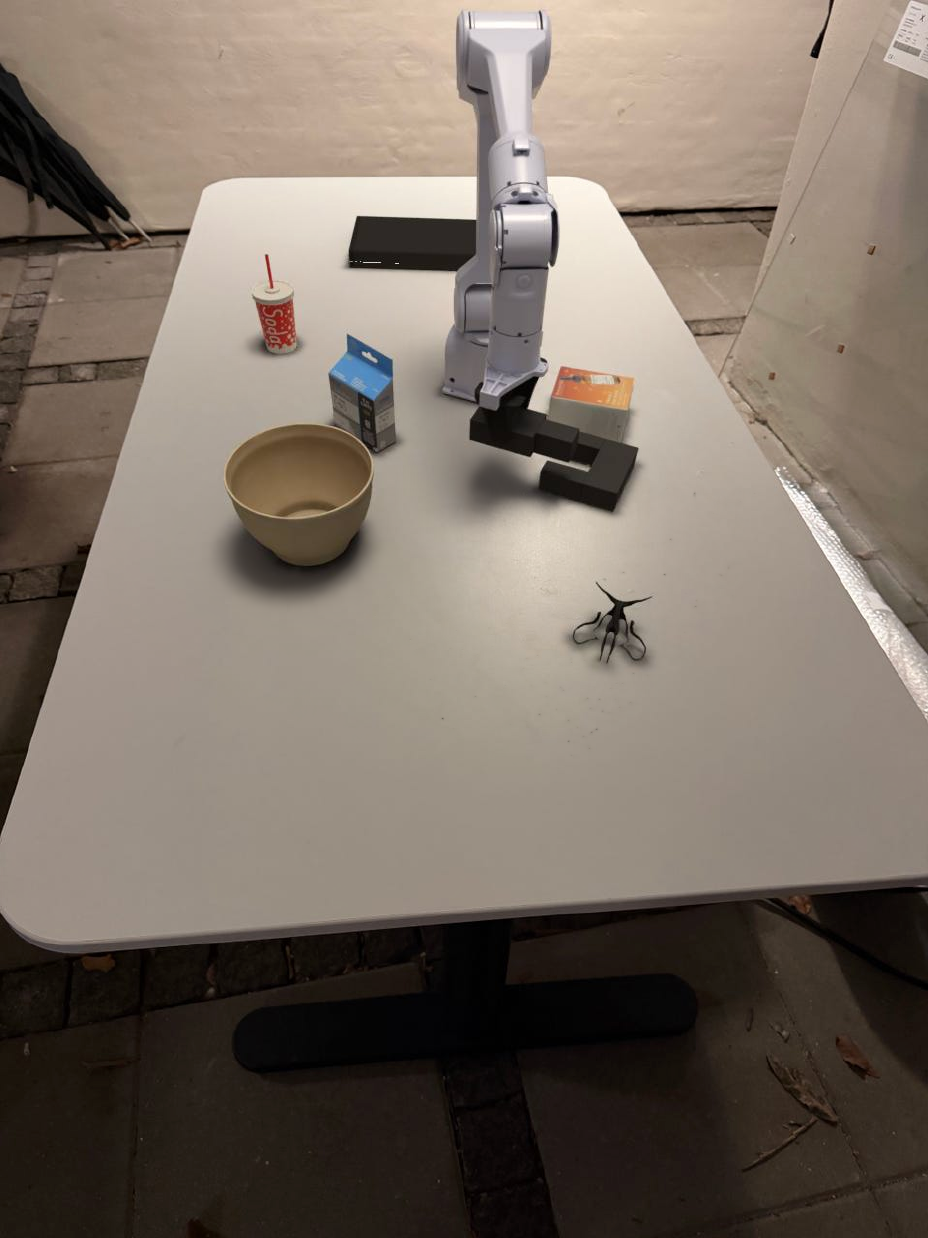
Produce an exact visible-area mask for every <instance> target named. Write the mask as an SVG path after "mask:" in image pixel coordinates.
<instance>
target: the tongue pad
mask: <svg viewBox="0 0 928 1238" xmlns="http://www.w3.org/2000/svg"><path fill="white" fill-rule="evenodd" d="M579 432H580V429H579V428H576V427H572V426H568V425H565V424H561V423H557V422H554V421H550V420H548V413H545V412H540V411H537V410H533V409H530V408H528V409H526V408H523V407H519V409H518V412H517V414H516V417H515V420H514V424H513V428H512V432H511V435H510V438H509V440H508V442H507V443H506V444H503V443H499V442H496V441H492V440H491V439H490V436H489V432H488V427H487V423H486V419H485V416H484V413H483V411H482V409H481V407H480V406H479V405H478V408H477V409H476V410H475V412H474V413H473V414H472V416H471V417H470V418H469V431H468V433H469V434H468V440H469V441H472V442H476V443H479V444H482V445H486V446H489V447H493V448H495V449H499V450H502V451H506V452H510V453H514V454H517V455H520V456H524V457H527V458H531V457H532V456H533V454H537V455H540V456H543V457H547V458H550V459H553V460H558V461H560V462H564V463H567V464H568V463H570V462H571V461H572V460H571V458H572V456H573V454H574V453H575V451H576V449H577V444H578V438H579Z"/></svg>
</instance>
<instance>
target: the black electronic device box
mask: <svg viewBox="0 0 928 1238" xmlns="http://www.w3.org/2000/svg"><path fill="white" fill-rule="evenodd" d="M475 255H476V219H471V218H469V219H468V218H443V217H442V218H440V217H439V218H438V217H437V218H435V217H434V218H433V217H409V216H408V217H405V216H379V215H377V216H375V215H356V217H355V222H354V225H353V230H352V234H351V238H350V242H349V245H348V261H353V262H349V268H365V269H367V268H370V269H373V268H374V269H399V270H400V269H401V270H431V271H435V270H436V271H458V269H459V268H460V267H462V266H463V265H464V264H465V263H467V262H468V261H469V260H470V259H471V258H473V257H474V256H475ZM355 261H357V262H355ZM360 261H361V262H360ZM363 262H381V263H363ZM395 263H399V264H395Z"/></svg>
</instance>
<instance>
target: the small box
mask: <svg viewBox="0 0 928 1238" xmlns="http://www.w3.org/2000/svg"><path fill="white" fill-rule="evenodd" d="M635 381H636V379H635V378H634V377H629V376H622V375H617V374H610V373H604V372H600V371H599V372H598V371H593V370H588V369H581V368H576V367H575V368H574V367H570V366H569V367H568V366H563V365H560V367H559V370H558V373H557V376H556V379H555V382H554V386H553V388H552V391H551V395H550V399H549V405H548V406H549V407H548V414H547V420H550V421H554V422H557V423H561V424H565V425H568V426H572V427H576V428H579V429H580V432H583V433H587V434H591V435H594V436H598V437H602V438H605V439H609V440H613V441H616V442H620V443H622V441H623V436H624V432H625V427H626V423H627V418H628V414H629V409H630V404H631V400H632V396H633V392H634V387H635V383H636V382H635Z"/></svg>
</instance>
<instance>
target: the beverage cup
mask: <svg viewBox="0 0 928 1238" xmlns="http://www.w3.org/2000/svg"><path fill="white" fill-rule="evenodd" d="M264 258H265V259H264V260H265V263H266V270H267V275H268V279H266V280H263V281H259V282H257V283H256V284H254V285H253V286H252V287H251V289H250V292H251V296H252V300H254V302H255V307H256V310H257V314H258V318H259V322H260V326H261V331H262V334H263V337H264V342H265V346H266V349H267V351H268V352H270V353H272V354H276V355H285V354H286V355H287V354H288V353H292V352H294V350H296V349H297V347H298V342H297V332H296V331H297V330H296V319H295V309H294V297H295V292H294V291H295V290H294V285H293V284H292V283H290V282H289V281H286V280H284V279H273V275H272V268H271V263H270V258H269V254H268V253H266V254H264Z"/></svg>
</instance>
